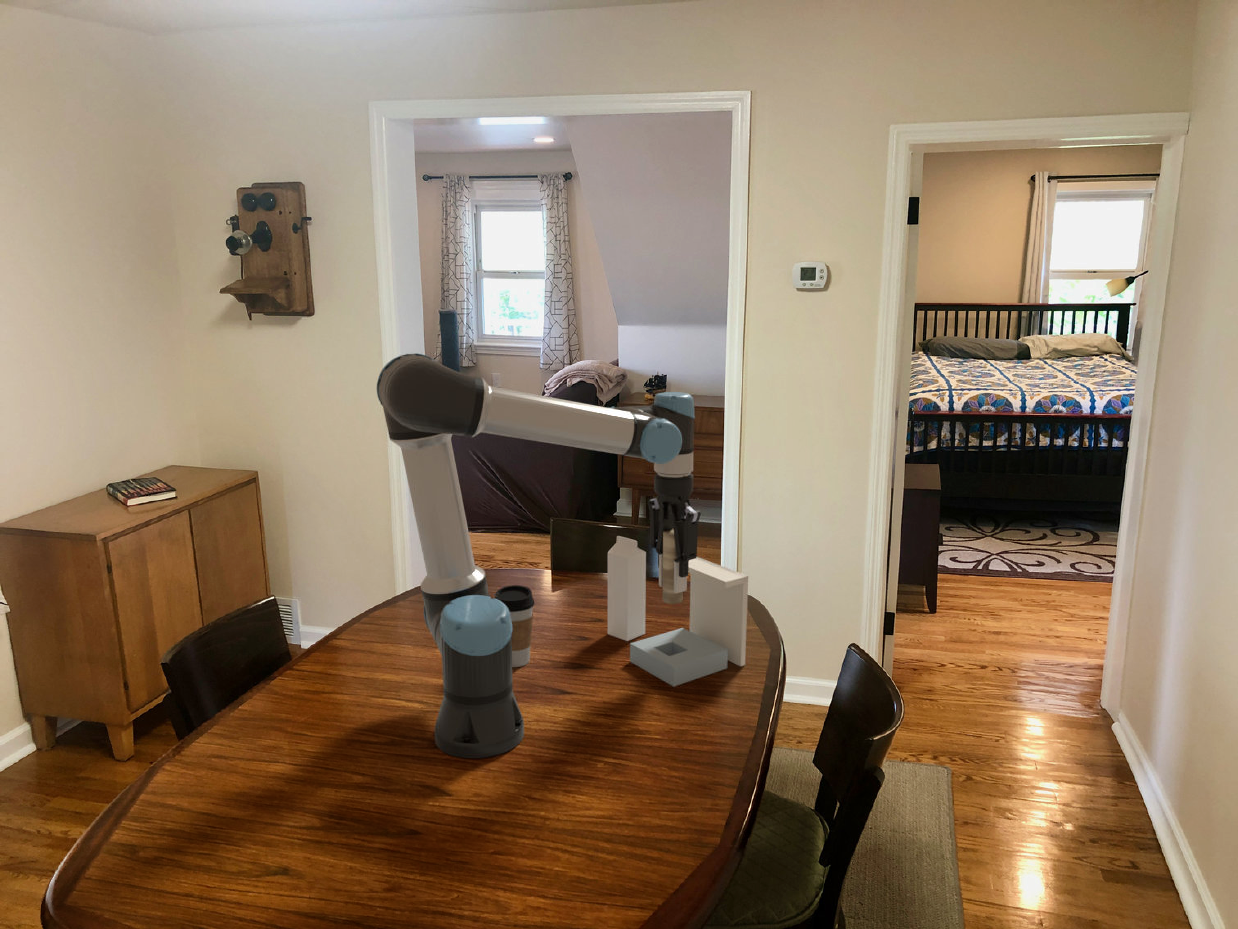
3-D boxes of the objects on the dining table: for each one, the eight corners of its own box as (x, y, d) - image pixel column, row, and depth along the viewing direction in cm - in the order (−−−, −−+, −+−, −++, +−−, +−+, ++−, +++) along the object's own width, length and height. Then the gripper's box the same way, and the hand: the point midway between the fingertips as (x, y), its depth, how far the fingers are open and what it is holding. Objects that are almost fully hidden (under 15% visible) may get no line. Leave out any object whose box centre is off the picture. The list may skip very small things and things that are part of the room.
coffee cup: (539, 653, 186) (537, 585, 183) (531, 671, 178) (529, 600, 175) (499, 651, 187) (497, 584, 184) (489, 669, 179) (487, 598, 176)
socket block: (673, 686, 171) (673, 667, 171) (630, 661, 183) (630, 643, 182) (727, 668, 180) (727, 649, 179) (682, 645, 191) (682, 627, 190)
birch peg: (671, 605, 174) (671, 536, 171) (658, 599, 177) (658, 531, 175) (686, 600, 177) (687, 533, 174) (674, 595, 180) (674, 528, 177)
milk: (627, 642, 193) (627, 544, 188) (607, 634, 197) (606, 538, 192) (645, 633, 197) (646, 538, 192) (625, 626, 201) (625, 532, 196)
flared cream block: (723, 672, 178) (725, 582, 174) (672, 646, 190) (673, 561, 186) (745, 665, 181) (748, 576, 177) (693, 639, 194) (695, 555, 190)
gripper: (718, 478, 167) (715, 596, 172) (661, 463, 180) (660, 573, 185) (687, 483, 163) (686, 604, 168) (631, 467, 176) (631, 580, 181)
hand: (672, 587), depth 176 cm, fingers closed on birch peg, 4 cm apart
